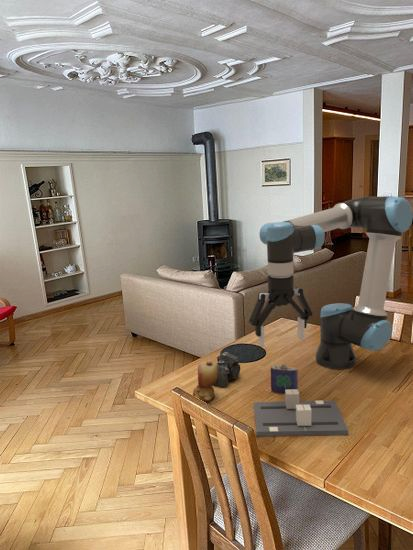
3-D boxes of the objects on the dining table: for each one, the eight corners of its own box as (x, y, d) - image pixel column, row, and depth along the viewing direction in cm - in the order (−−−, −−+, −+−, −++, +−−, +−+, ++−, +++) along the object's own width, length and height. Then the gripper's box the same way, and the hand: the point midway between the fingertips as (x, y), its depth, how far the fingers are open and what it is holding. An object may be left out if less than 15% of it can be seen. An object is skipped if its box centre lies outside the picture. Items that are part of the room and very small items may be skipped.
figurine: (190, 391, 146) (198, 353, 143) (211, 394, 147) (219, 356, 144) (192, 406, 136) (200, 365, 133) (214, 409, 137) (222, 368, 134)
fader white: (309, 419, 122) (309, 404, 121) (311, 425, 119) (311, 409, 118) (295, 419, 122) (295, 404, 121) (297, 425, 119) (297, 410, 118)
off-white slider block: (297, 403, 131) (297, 389, 130) (299, 408, 128) (299, 393, 127) (285, 403, 131) (285, 389, 130) (286, 408, 128) (286, 394, 127)
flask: (298, 390, 142) (297, 362, 140) (297, 395, 140) (297, 366, 137) (271, 388, 145) (270, 360, 142) (270, 392, 142) (269, 364, 140)
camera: (237, 388, 146) (236, 363, 144) (210, 387, 148) (208, 362, 146) (242, 371, 159) (241, 347, 157) (217, 370, 161) (215, 347, 159)
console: (334, 404, 133) (334, 400, 132) (348, 434, 117) (348, 429, 117) (253, 406, 134) (253, 401, 134) (256, 436, 119) (256, 431, 118)
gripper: (310, 267, 129) (310, 331, 133) (236, 277, 122) (239, 344, 127) (324, 272, 122) (323, 339, 126) (246, 283, 115) (248, 353, 120)
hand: (281, 342), depth 126 cm, fingers open, 13 cm apart
